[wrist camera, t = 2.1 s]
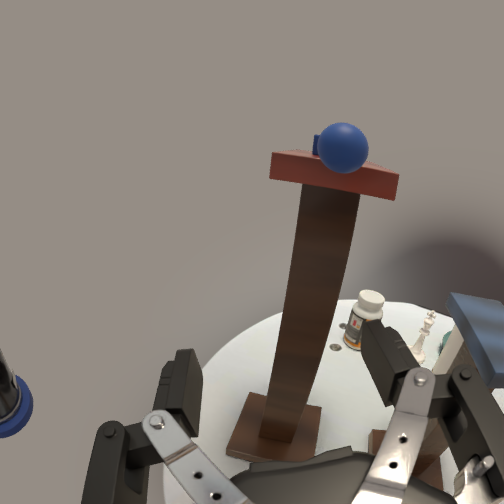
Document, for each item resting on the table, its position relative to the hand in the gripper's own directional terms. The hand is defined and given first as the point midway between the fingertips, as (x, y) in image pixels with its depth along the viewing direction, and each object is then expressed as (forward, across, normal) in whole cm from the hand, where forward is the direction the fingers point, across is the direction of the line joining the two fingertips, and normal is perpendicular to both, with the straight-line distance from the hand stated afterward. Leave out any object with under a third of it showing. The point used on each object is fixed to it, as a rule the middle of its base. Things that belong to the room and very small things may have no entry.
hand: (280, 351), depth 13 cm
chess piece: (+24, -26, +31) cm, 47 cm away
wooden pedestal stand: (+10, +1, +24) cm, 26 cm away
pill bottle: (+29, -16, +29) cm, 44 cm away
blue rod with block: (+6, -5, -7) cm, 10 cm away
